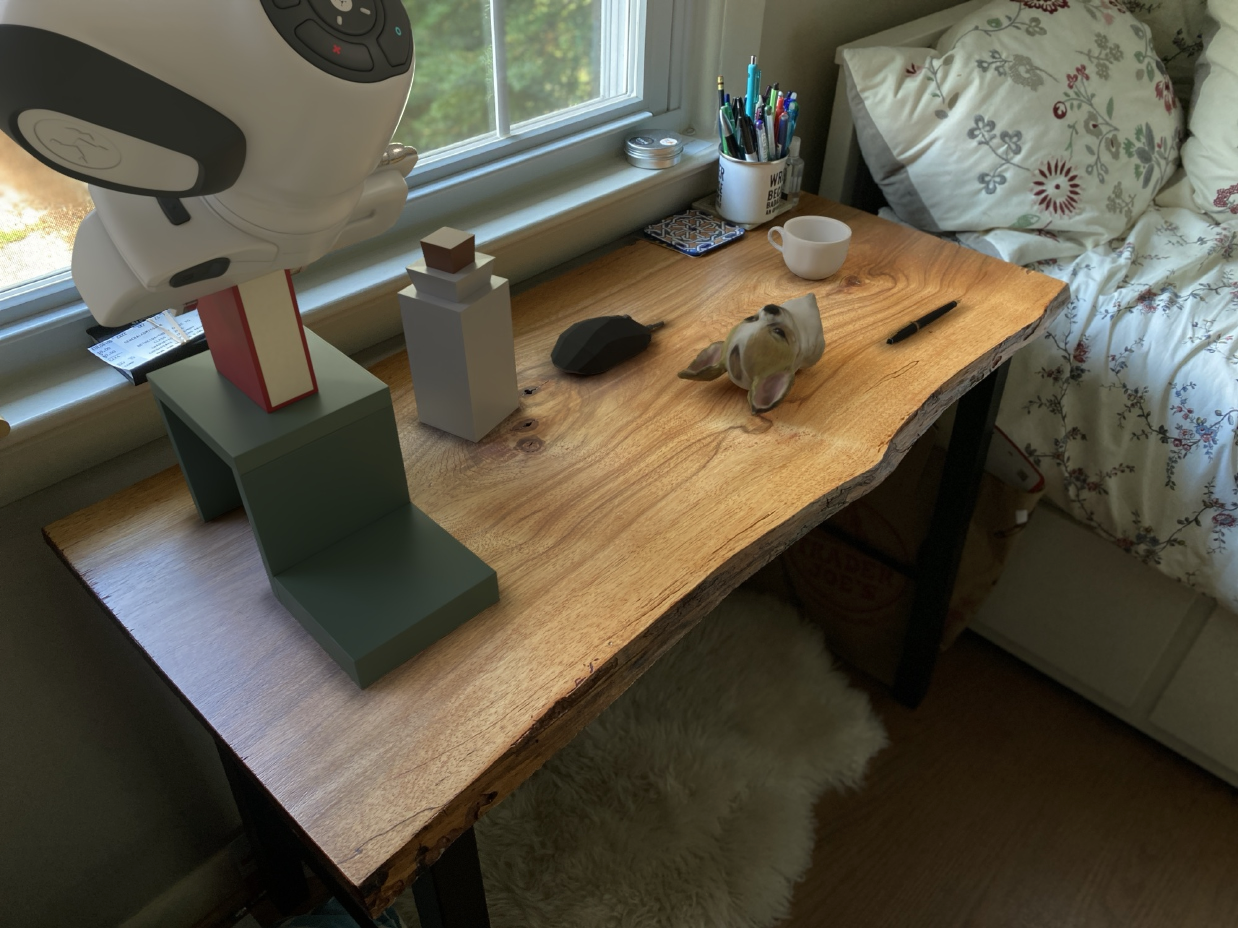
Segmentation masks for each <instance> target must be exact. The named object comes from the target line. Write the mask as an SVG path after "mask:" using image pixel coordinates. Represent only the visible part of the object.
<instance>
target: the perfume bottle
mask: <svg viewBox="0 0 1238 928" xmlns="http://www.w3.org/2000/svg"><path fill="white" fill-rule="evenodd" d="M419 242H420V248H421V251H422V257H420V258H418V259H416V260H415V261H414V262H412V263H410V264H409V265H407V266H405V267H404V269H405V270H406V273H407V275H408V276H409V279H410V281H411V282H412V283H411V284H410V285H408V286H406V287H404V288H402V289H401V290H400V291H397V297H398V298H397V299H398V303H399V310H400V315H401V322H402V327H403V328H402V329H403V334H404V339H405V345H406V352H407V358H408V364H409V369H410V376H411V382H412V387H413V393H414V399H415V405H416V410H417V411H416V412H417V417H418V422H420V423H422V424H425V425H428V426H430V427H433V428H436V429H437V430H441V431H443V432H446V433H448V434H452V435H454V436H456V437H460V438H462V439H465V440H467V441H470V442H473V443H475V444H477V443H479V441H480V440H482V439H483V438H484V437H485V436H487V435H488V434H489V433H490V432H491V431H492V430H493V429H495V428H496V427H497V426H498V425H499V424H500V423H502V422H503V421H504V420H505V419H506V418H508V417H509V416H510V415H511V414H512V413H513V412H515V411H516V410H517V409H518V408H520V401H519V400H520V399H519V398H520V397H519V387H518V377H517V365H516V354H515V353H516V352H515V341H514V340H515V339H514V330H513V318H512V317H513V315H512V305H511V294H510V293H511V292H510V282H509V281H510V280H509V279H508V278H504V277H501V276H497V275H494V274H493V270H494V267H495V266H494V265H495V261H496V256H493V255H490V254H487V253H486V254H485V253H482V252H480V251H479V252H478V251H476V234H475V233H472V232H468V231H464V230H460V229H456V228H454V227H453V228H452V227H449V226H445V225H444V226H443V227H441V228H439V229H437V230H436V231H434V232H432V233H430V234H429V235H426V236H425V237H423V238H422V239H419Z"/></svg>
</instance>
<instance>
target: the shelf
mask: <svg viewBox="0 0 1238 928" xmlns="http://www.w3.org/2000/svg"><path fill="white" fill-rule="evenodd" d="M303 328H304V332H305V336H306V340H307V344H308V348H309V352H310V356H311V360H312V365H313V369H314V373H315V377H316V381H317V385H318V389H319V391H318V392H316V393H314V394H311V395H309V396H307V397H305V398H302V399H300V400H298V401H296V402H293V403H291V404H289V405H286V406H284V407H282V408H280V409H277V410H275V411H273V412H271V413H267V412H266V411H265V410H264V409H262V408H261V407H260V406H259V405H258V404H257V403H255V402H254V401H253V400H252V399H251V398H249V397H248V396H247V395H246V394H245V393H244V392H242V391H241V390H240V389H239V388H238V387H237V386H235V385H234V384H233V383H232V382H231V381H229V380H228V379H227V378H226V377H225V376H224V375H222V374H221V373H220V372H219V371H218V370H217V369H216V367H215V364H214V361H213V358H212V355H211V352H210V349H207V350H205V351H203V352H200V353H197V354H194V355H192V356H190V357H186V358H184V359H182V360H179V361H176V362H174V363H172V364H171V363H170V364H169V365H166V366H164V367H161V368H159V369H156V370H153V371H151V372H148V373H146V374H145V377H146V379H147V382H148V385H149V387H150V390H151V392H152V395H153V398H154V400H155V404H156V406H157V408H158V412H159V415H160V417H161V419H162V421H163V425H164V427H165V430H166V432H167V434H168V438H169V441H170V444H171V446H172V448H173V451H174V453H175V456H176V459H177V462H178V464H179V467H180V469H181V472H182V475H183V477H184V481H185V483H186V485H187V486H186V487H187V489H188V490H189V493H190V496H191V499H192V501H193V504H194V507H195V510H196V512H197V515H198V517H199V518H200V519H201V520H202V521H203V522H204V523H207V522H209V521H211V520H213V519H215V518H218V517H220V516H222V515H224V514H226V513H227V512H230V511H232V510H234V509H236V508H238V507H240V506H242V505H243V507H244V510H245V513H246V516H247V519H248V522H249V526H250V529H251V531H252V535H253V537H254V541H255V543H256V546H257V549H258V552H259V555H260V559H261V561H262V564H263V567H264V570H265V573H266V576H267V579H268V582H269V585H270V588H271V591H272V594H273V596H274V598H275V599H276V600H277V601H278V602H279V603H280V604H281V605H282V606H283V608H284V609H285V610H286V611H287V612H288V613H289V614H290V616H292V618H293V619H295V620H296V622H297V623H299V625H300V626H301V627H302V628H303V629H304V630H305V631H306V632H307V633H308V634H309V635H310V636H311V638H312V639H313V640H314V641H315V642H316V643H317V644H318V645H319V646H320V647H321V648H322V649H323V650H324V652H325V653H326V654H327V655H328V656H329V657H330V658H331V659H332V660H333V661H334V662H335V663H336V664H337V665H338V667H340V668H341V669H342V671H343V672H344V673H345V674H346V675H347V676H348V677H349V678H350V680H352V681H353V682H354V683H355V685H356V686H357V687H358V688H359V689H360V690H361V691H363V690H365V689H367V688H368V687H369V686H371V685H372V684H374V683H376V682H377V681H378V680H380V679H381V678H383V677H385V676H386V675H388V674H389V673H391V672H393V670H395V669H397V668H398V667H400V666H401V665H403V664H404V663H406V662H408V661H409V660H410V659H412V658H414V657H415V656H417V655H418V654H420V653H421V652H423V651H424V650H426V649H428V648H429V647H430V646H432V645H433V644H435V643H436V642H438V641H440V640H441V639H442V638H444V637H446V636H448V635H449V634H450V633H452V632H453V631H455V630H456V629H458V628H459V627H461V626H463V625H464V624H466V623H467V622H469V621H470V620H471V619H473V618H475V617H476V616H478V615H479V614H481V613H482V612H484V611H485V610H487V609H489V608H490V607H491V606H493V605H495V604H496V603H498V602H499V601H501V597H500V587H499V580H498V572H497V571H496V570H495V569H494V568H493V567H491V566H490V565H489V564H488V563H487V562H486V561H484V560H483V559H481V557H479V556H478V555H477V554H476V553H475V552H473V551H472V550H470V549H469V548H468V547H467V546H466V545H465V544H463V543H462V542H461V541H460V540H459V539H458V538H456V537H455V536H454V535H452V534H451V533H450V532H449V531H447V530H446V529H445V528H444V527H443V526H442V525H440V524H439V523H438V522H437V521H435V520H434V519H433V518H432V517H430V516H429V515H428V514H427V513H425V512H424V511H423V510H422V509H421V508H419V507H418V506H417V505H416V504H415V503H413V502H412V501H411V495H410V491H409V485H408V479H407V474H406V470H405V469H406V468H405V463H404V458H403V452H402V448H401V441H400V436H399V431H398V426H397V420H396V415H395V410H394V405H393V399H392V393H391V389H390V385H388V384H387V383H385V382H383V381H382V380H381V379H379V377H377V376H376V375H374V374H373V373H371V372H370V371H368V370H367V369H365V368H364V367H362V366H361V365H360V364H358V363H357V362H356V361H355V360H353V359H351V358H350V357H349V356H347V355H346V354H344V353H343V352H342V351H341V350H339V349H338V348H336V347H335V346H333V345H332V344H331V343H329V342H328V341H326V340H325V339H323V338H322V337H321V336H319V335H318V334H317V333H315V332H313V331H312V329H310V328H308V327H306V326H305V325H304V324H303Z"/></svg>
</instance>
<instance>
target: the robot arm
mask: <svg viewBox="0 0 1238 928" xmlns="http://www.w3.org/2000/svg"><path fill="white" fill-rule="evenodd" d="M408 14H409V13H408V12H407V10H406V8H405V5H404V3H403V1H402V0H0V130H1V132H3V134H5V135H6V136H7V137H8V138H9V139H11V140H12V141H13V142H14V143H15V144H17V145H18V146H19V147H20V148H21V149H22V150H24V151H25V152H26V153H28V154H29V155H30V156H31V157H33V158H35V159H36V160H37V161H38V162H40V163H41V164H43V165H44V166H46V167H48V168H49V169H50V170H53V171H55V172H56V173H58V174H61V175H64V176H66V177H68V178H71V179H73V180H76V181H79V182H81V183H85V184H87V190H88V194H89V196H90V198H91V201H92V204H93V205H94V208H93V209H91V210H90V211H89V212H88V213H87V214H86V215H85V216H84V218H83V219H82V220H81V222H80V223H79V225H78V227H77V231H76V233H75V237H74V242H73V246H72V254H71V260H70V261H71V263H70V273H71V278H72V281H73V283H74V286H75V287H76V289H77V291H78V293H79V295H80V296H81V298H82V300H83V302H84V303H85V306H86V307H87V308H88V310H89V312H90V313H91V314H92V316H93V318H94V319H95V321H96V322H97V323H98V324H99V325H100V326H102V327H105V328H118V327H123V326H125V325H128V324H131V323H133V322H136V321H138V320H141V319H145V318H146V317H150V316H153V315H156V314H159V313H161V312H164V311H167V310H168V311H169V313H170V315H171V316H172V317H174V318H177V317H180V316H183V315H186V314H189V313H191V312H193V311H197V308H196V306H197V305H198V300H197V299H199V298H201V297H204V296H207V295H210V294H213V293H216V292H218V291H221V290H224V289H227V288H230V287H233V286H236V285H238V284H241V283H244V282H247V281H250V280H253V279H255V278H258V277H261V276H264V275H267V274H270V273H273V272H275V271H278V270H281V269H289V270H290V274H291V277H292V276H294V275H297V274H300V273H304V272H306V271H307V268H308V267H309V265H310V264H312V263H315V262H317V261H318V260H320V259H321V258H323V257H324V256H325V255H327V254H329V253H332V252H335V251H338V250H340V249H341V250H342V249H343V248H347V247H349V246H352V245H355V244H358V243H361V242H363V241H366V240H370V239H372V238H375V237H378V236H381V235H383V234H384V233H386V232H387V231H389V230H390V229H391V228H392V227H394V226H395V225H396V224H397V222H398V220H399V219H400V216H401V214H402V212H403V210H404V207H405V205H406V202H407V200H408V196H409V186H408V184H407V181H406V180H405V178H407V177H408V176H409V175H410V174H411V172H413V170H414V168H415V166H416V165H417V163H418V161H419V155H418V150H417V149H416V148H415V147H414V146H412V145H409V146H404V144H403V143H401V142H392V139H393V138H394V135H395V133H396V131H397V129H398V126H399V124H400V121H401V119H402V117H403V114H404V112H405V109H406V106H407V103H408V100H409V97H410V93H411V89H412V87H413V81H414V75H415V68H416V46H415V39H414V33H413V27H412V24H411V20H410V18H409V15H408ZM391 142H392V143H391Z"/></svg>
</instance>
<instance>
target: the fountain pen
mask: <svg viewBox="0 0 1238 928" xmlns="http://www.w3.org/2000/svg"><path fill="white" fill-rule="evenodd" d="M962 300H963V298H960V299H956V300H952V301H950V302H948V303H946V304H944V305H942V306H940V307H938V308H936V309H934V310H932V311H930V312H928V313H927V314H924V315H923V316H921V317H920V318H918V319H916V320H907V321H906V322H905V323H903V324H902V325H899V326H898V327H897V328H896V329H894V330H893V331H892V332H891V333H889V334H888V338H887V339H886V343H885V344H886V345H890V346H891V345H895V344H897V343H900V342H901V341H904V340H907V338H909V337H911V336H913V335H914V334H916V333H919V332H920V331H921V330H922V329H923V328H925V327H927V326H929V325H930V324H932V323H933V322H935V321H936V320H938V319H940V318H941V317H943V316H944V315H946V314H947V313H949V312H950V311H951V310H953V309H955V308H957V307H958V305H959V304H961V302H962Z"/></svg>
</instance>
